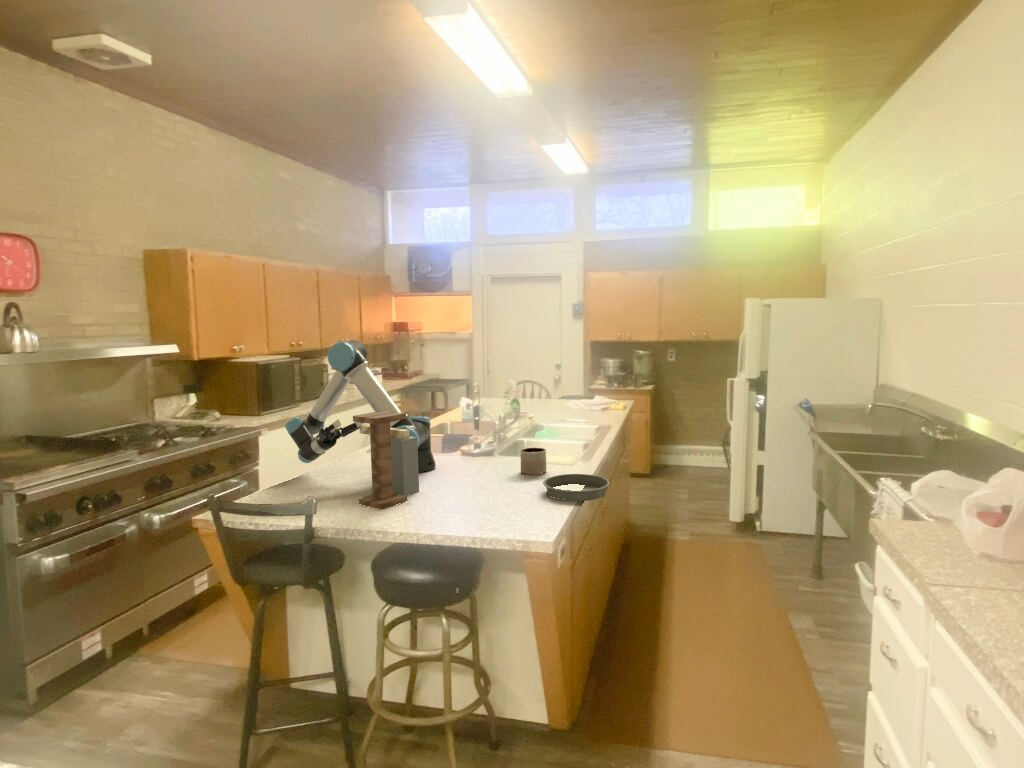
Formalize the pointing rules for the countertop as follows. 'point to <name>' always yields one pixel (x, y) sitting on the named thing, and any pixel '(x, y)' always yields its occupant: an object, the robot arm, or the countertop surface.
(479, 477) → the countertop surface
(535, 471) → the planter
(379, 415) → the walnut stand
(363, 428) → the birch bar
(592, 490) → the cake pan
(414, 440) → the slate block
